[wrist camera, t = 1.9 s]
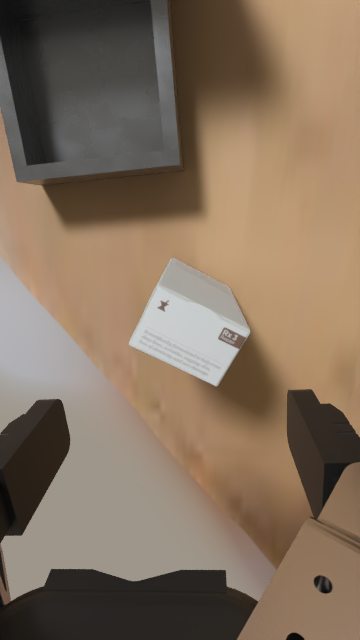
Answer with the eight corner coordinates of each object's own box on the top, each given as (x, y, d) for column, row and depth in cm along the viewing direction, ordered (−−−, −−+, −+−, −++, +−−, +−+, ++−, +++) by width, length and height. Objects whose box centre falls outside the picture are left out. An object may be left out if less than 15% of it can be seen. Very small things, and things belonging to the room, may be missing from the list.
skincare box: (151, 297, 31) (120, 349, 20) (173, 252, 30) (152, 281, 18) (211, 327, 32) (214, 394, 20) (235, 284, 30) (253, 332, 19)
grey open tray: (165, -55, 23) (157, -109, 19) (183, 170, 28) (179, 164, 24) (-1, -27, 24) (-41, -72, 20) (41, 185, 29) (15, 181, 25)
